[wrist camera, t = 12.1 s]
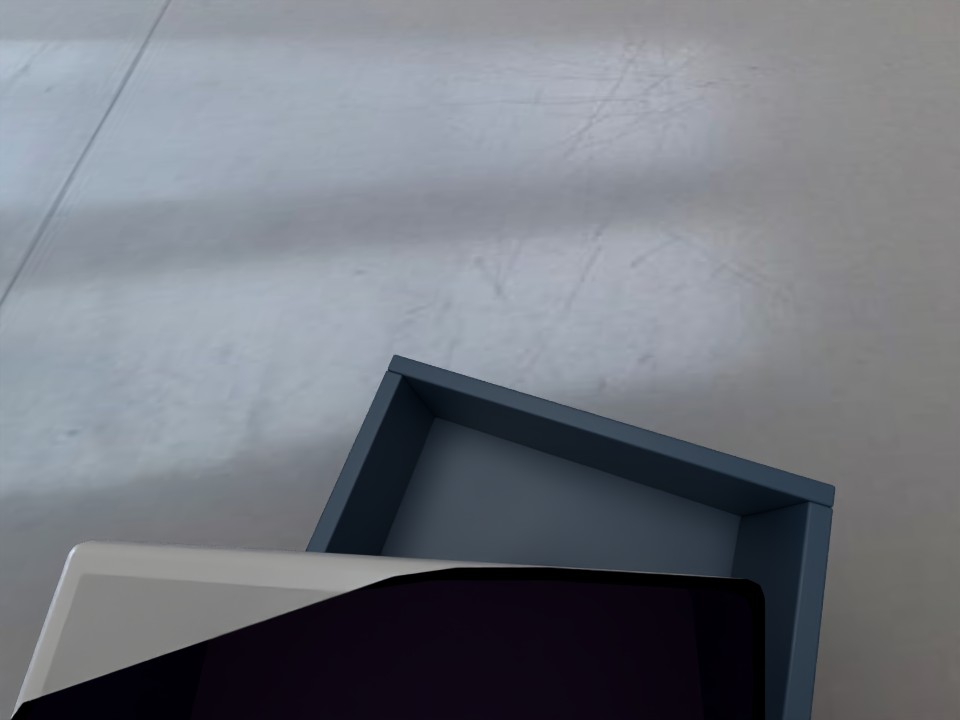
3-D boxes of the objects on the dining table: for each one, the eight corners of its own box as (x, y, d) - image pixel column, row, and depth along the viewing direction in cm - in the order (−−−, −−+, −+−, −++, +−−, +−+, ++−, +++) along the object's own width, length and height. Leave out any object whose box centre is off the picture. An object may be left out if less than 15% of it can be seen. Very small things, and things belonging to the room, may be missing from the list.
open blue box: (681, 965, 14) (760, 1206, 9) (290, 749, 17) (178, 830, 12) (754, 507, 18) (837, 485, 13) (430, 403, 21) (393, 353, 16)
